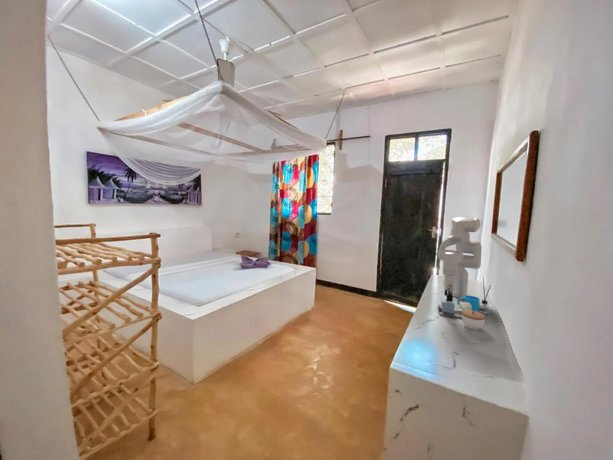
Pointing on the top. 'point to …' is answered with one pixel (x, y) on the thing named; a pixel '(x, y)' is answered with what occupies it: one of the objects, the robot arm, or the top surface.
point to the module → (447, 306)
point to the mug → (471, 302)
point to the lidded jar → (473, 319)
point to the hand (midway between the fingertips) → (448, 298)
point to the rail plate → (455, 310)
